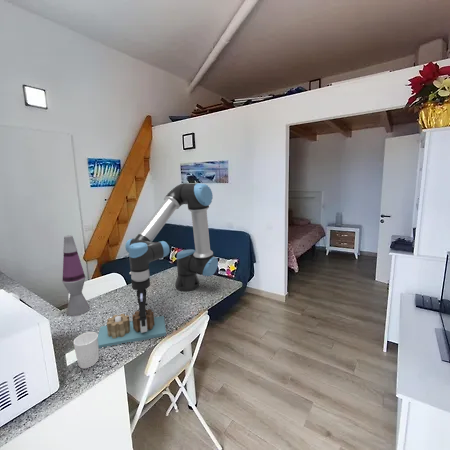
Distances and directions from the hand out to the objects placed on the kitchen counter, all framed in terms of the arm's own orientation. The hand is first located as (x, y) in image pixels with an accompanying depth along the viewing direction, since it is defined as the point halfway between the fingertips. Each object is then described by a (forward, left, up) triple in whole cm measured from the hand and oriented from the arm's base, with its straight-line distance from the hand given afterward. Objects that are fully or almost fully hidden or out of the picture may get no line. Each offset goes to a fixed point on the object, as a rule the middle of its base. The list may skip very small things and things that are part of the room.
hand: (144, 325), depth 112 cm
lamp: (+33, -29, -3) cm, 44 cm away
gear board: (+5, 0, -2) cm, 6 cm away
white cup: (+20, +14, -3) cm, 25 cm away
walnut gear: (0, 0, 0) cm, 0 cm away
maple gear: (+10, 0, -1) cm, 11 cm away
